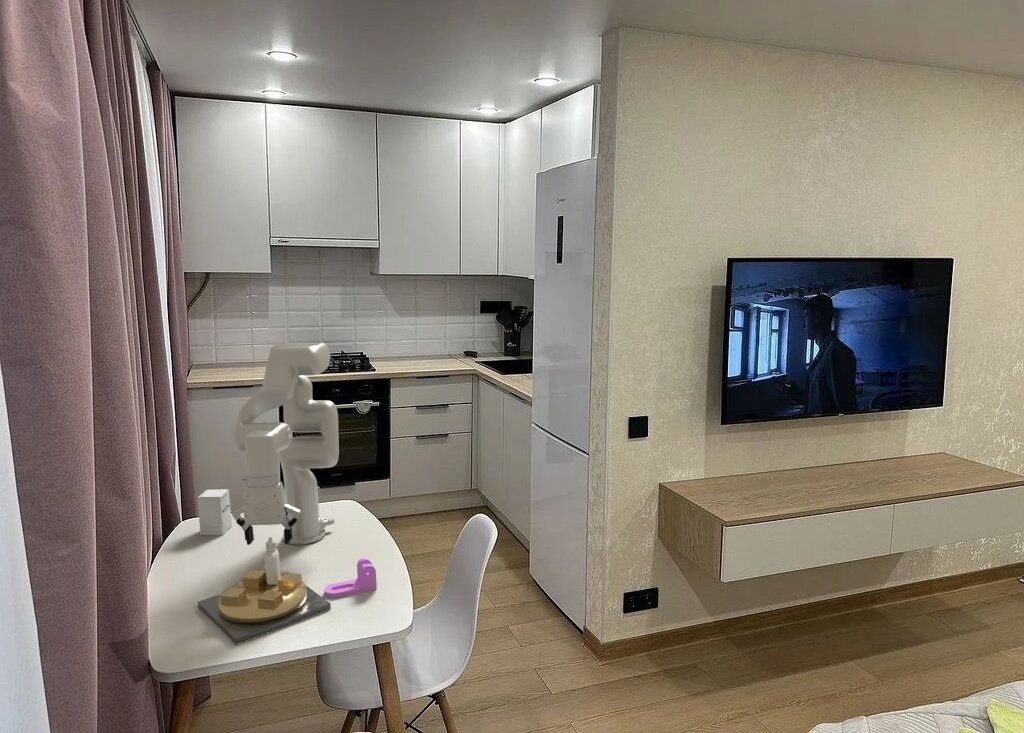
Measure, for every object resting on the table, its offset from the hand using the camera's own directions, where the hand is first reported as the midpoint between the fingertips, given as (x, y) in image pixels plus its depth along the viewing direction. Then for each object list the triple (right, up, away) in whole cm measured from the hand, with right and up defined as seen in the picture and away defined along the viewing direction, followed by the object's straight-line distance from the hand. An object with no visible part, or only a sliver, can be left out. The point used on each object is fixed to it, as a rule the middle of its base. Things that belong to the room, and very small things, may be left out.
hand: (269, 542), depth 193 cm
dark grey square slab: (0, -15, -5) cm, 16 cm away
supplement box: (-31, -7, +44) cm, 55 cm away
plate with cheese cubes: (0, -14, -5) cm, 15 cm away
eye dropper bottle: (+1, -11, +2) cm, 11 cm away
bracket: (+20, -14, +4) cm, 24 cm away
